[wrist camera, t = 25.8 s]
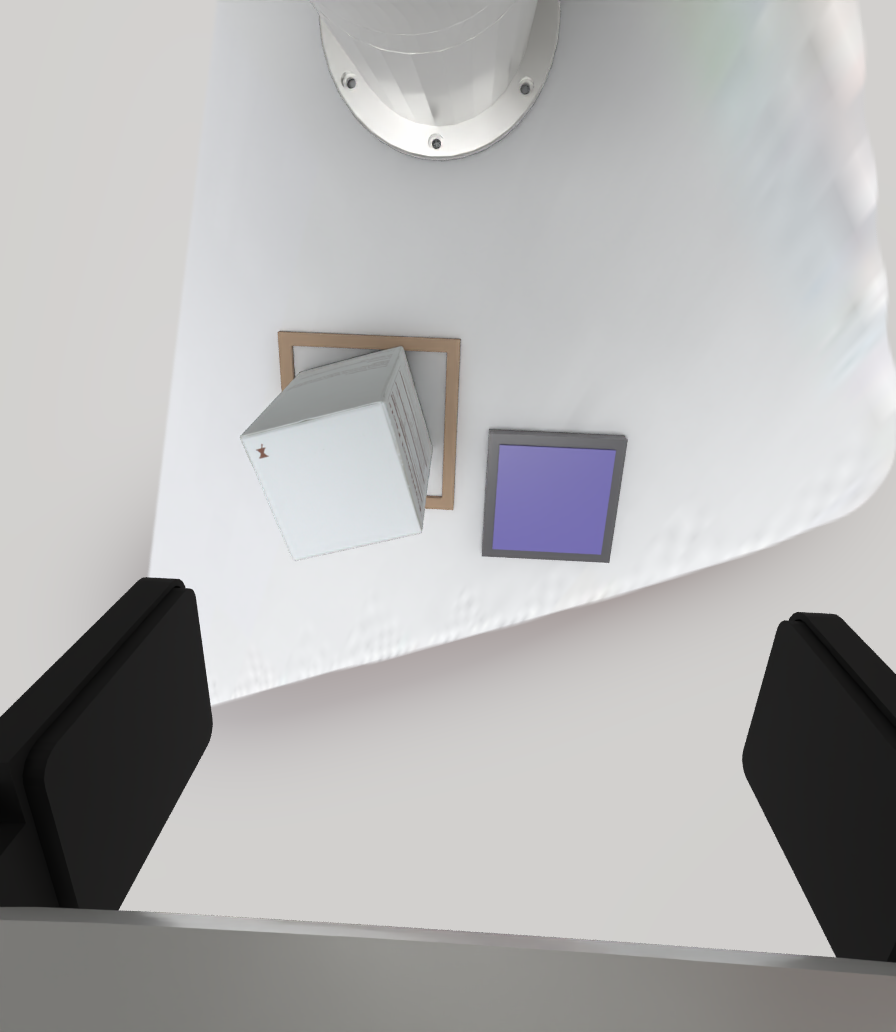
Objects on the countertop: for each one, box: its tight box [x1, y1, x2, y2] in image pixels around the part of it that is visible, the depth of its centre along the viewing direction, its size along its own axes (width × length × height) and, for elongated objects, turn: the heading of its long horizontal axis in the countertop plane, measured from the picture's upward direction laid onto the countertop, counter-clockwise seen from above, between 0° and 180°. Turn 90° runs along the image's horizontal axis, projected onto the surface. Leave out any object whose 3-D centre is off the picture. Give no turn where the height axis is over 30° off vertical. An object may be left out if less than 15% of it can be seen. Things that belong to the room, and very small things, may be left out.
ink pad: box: [482, 429, 628, 563], centre depth 44 cm, size 9×9×1 cm
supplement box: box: [240, 346, 433, 561], centre depth 37 cm, size 7×7×13 cm
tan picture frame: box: [278, 331, 460, 510], centre depth 43 cm, size 12×12×1 cm
